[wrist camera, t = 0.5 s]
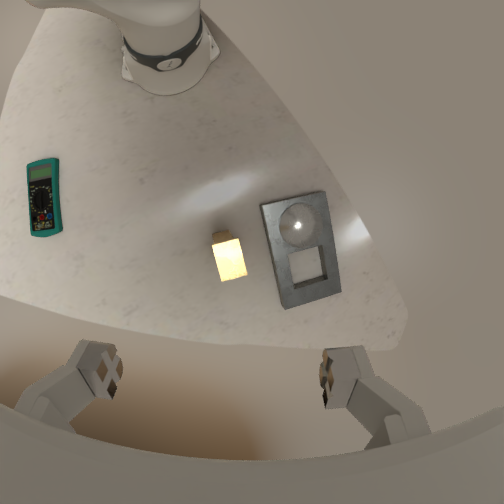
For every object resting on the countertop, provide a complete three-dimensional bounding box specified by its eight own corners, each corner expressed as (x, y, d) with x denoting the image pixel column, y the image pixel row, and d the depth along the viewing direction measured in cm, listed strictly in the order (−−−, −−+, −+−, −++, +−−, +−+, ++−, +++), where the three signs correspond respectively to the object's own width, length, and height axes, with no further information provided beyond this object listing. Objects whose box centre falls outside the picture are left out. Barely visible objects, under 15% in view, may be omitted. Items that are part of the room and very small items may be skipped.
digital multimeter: (36, 236, 47) (29, 239, 44) (31, 164, 44) (24, 163, 41) (64, 233, 48) (58, 235, 45) (60, 157, 45) (53, 156, 42)
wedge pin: (209, 231, 52) (212, 245, 39) (229, 226, 53) (238, 238, 39) (217, 258, 54) (221, 281, 40) (236, 253, 54) (247, 274, 40)
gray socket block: (259, 205, 53) (263, 205, 50) (320, 191, 54) (326, 191, 51) (281, 304, 58) (286, 311, 54) (336, 288, 59) (343, 293, 56)
